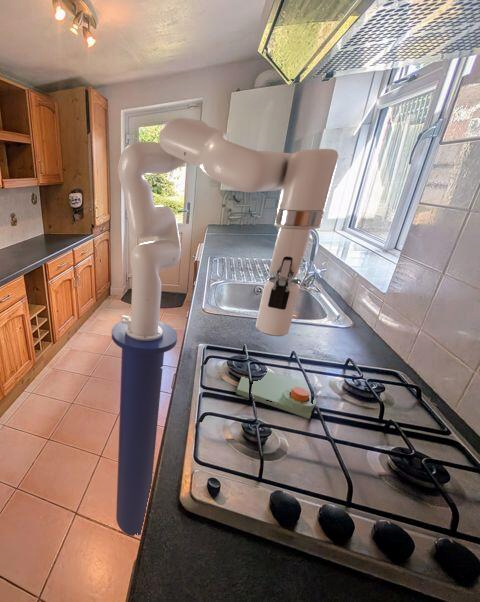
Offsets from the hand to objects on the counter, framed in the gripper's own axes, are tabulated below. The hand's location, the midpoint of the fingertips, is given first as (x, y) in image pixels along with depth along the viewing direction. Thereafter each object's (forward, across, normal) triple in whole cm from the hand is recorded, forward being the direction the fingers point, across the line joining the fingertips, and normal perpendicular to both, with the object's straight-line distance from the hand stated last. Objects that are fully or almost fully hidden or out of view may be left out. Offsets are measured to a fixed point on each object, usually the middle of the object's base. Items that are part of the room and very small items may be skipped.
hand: (278, 301), depth 66 cm
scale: (+21, +2, +3) cm, 22 cm away
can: (+7, 0, 0) cm, 7 cm away
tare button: (+19, +6, +8) cm, 21 cm away
